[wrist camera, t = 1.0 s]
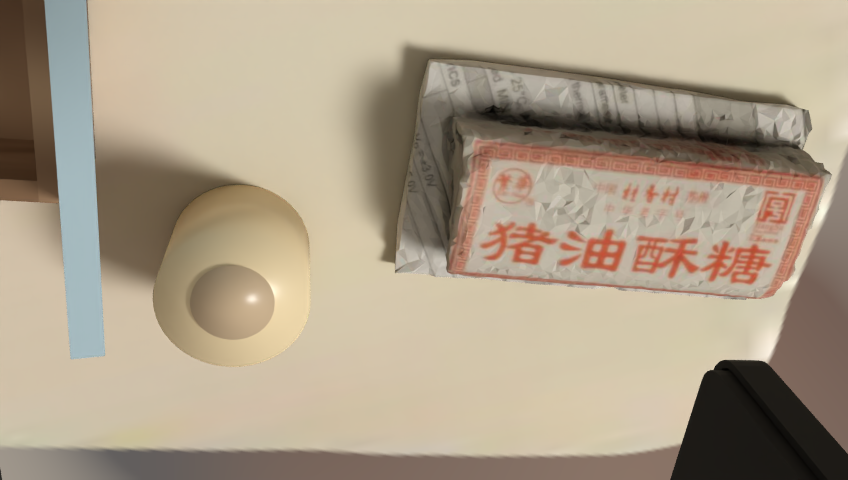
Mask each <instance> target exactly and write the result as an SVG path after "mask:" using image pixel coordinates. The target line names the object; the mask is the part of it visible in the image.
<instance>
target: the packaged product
mask: <svg viewBox="0 0 848 480" xmlns="http://www.w3.org/2000/svg"><path fill="white" fill-rule="evenodd" d="M811 130H812V125H811V120H810V115H809V110H805V109H801V108H797V107H793V106H790V105H785V104H772V103H759V102H744V101H739V100H734V99H729V98H724V97H719V96H713V95H708V94H703V93H698V92H693V91H687V90H682V89H673V88H666V87H660V86H653V85H647V84H641V83H634V82H628V81H622V80H616V79H610V78H603V77H596V76H589V75H582V74H575V73H565V72H559V71H552V70H545V69H537V68H529V67H521V66H513V65H505V64H497V63H489V62H480V61H472V60H453V59H429V60H428V64H427V67H426V70H425V74H424V78H423V82H422V85H421V89H420V93H419V101H418V109H417V118H416V126H415V135H414V141H413V145H412V150H411V155H410V160H409V165H408V170H407V175H406V180H405V186H404V191H403V196H402V201H401V206H400V212H399V217H398V223H397V239H396V257H395V273H413V274H426V275H431V276H435V277H451V278H478V279H490V280H502V281H508V282H521V283H531V284H543V285H558V286H568V287H578V288H591V289H595V288H605V287H614V288H616V289H618V290H624V291H637V292H650V293H672V294H678V295H689V296H700V297H715V298H724V299H740V300H746V298H753V299H761V298H767V297H770V296H773V295H774V294H775V293H776V291H777V290H778V289H779V288H780V287H781V286H782V284H783V282H785V281H787V280H788V279H789V278H790V277H791V276H792V275H793V273H794V271H795V260H796V259H797V257H798V255H799V254H800V251H801V248H802V244H803V241H804V239H805V236H806V234H807V231H808V230H809V229H810V228H812V224H813V221H814V218H815V216H816V214H817V212H818V210H819V204H820V201H821V199H822V196H823V193H824V190H825V188H826V186H827V185H828V183H829V181H830V179H831V173H830V172H828V171H827V170H825V169H824V165H823V163H817V162H814V160H813V159H812V157H811V156H810V155H809V154H808V153H806V152H805V151H803V147H804V145H805V142H806V139H807V137H808V134H809V132H810V131H811Z"/></svg>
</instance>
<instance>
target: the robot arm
mask: <svg viewBox="0 0 848 480" xmlns="http://www.w3.org/2000/svg"><path fill="white" fill-rule="evenodd" d="M0 480H2V477H1V471H0ZM670 480H848V454H847V453H846V452H845V450H844V449H843V448H842V447H841V446H840V445H839V444H838V442H837V441H836V440H835V439H834V438H833V437H832V436H831V435H830V433H829V432H828V431H827V430H826V429H825V428H824V427H823V426H822V425H821V423H820V422H819V421H818V420H817V419H816V418H815V416H813V414H812V413H811V412H810V411H809V410H808V409H807V407H806V406H805V405H804V404H803V403H802V402H801V401H800V399H799V398H798V397H797V396H796V395H795V394H794V393H793V392H792V390H791V389H790V388H789V387H788V386H787V385H786V384H785V383H784V381H783V380H782V379H781V378H780V377H779V376H778V375H777V374H776V373H775V371H774V370H773V369H772V368H771V367H770V366H769V365H768V364H767V363H765V362H763V361H755V360H723V361H720V362H719V363H718V364H717V365H716V366H715V368H714V370H710V371H707V372H706V373H705V375H704V377H703V379H702V382H701V385H700V388H699V391H698V394H697V397H696V400H695V404H694V407H693V410H692V413H691V416H690V419H689V422H688V426H687V429H686V432H685V435H684V438H683V441H682V444H681V448H680V451H679V454H678V457H677V460H676V463H675V467H674V470H673V473H672V476H671V479H670Z"/></svg>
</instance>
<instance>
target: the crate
mask: <svg viewBox="0 0 848 480" xmlns="http://www.w3.org/2000/svg"><path fill="white" fill-rule="evenodd" d="M86 4H87V0H86ZM87 23H88V6H87ZM88 42H89V25H88ZM89 61H90V45H89ZM90 80H91V64H90ZM91 99H92V83H91ZM92 118H93V102H92ZM93 137H94V121H93ZM94 155H95V140H94ZM0 200H8V201H26V202H45V203H59V193H58V179H57V165H56V152H55V138H54V125H53V111H52V97H51V84H50V70H49V56H48V43H47V29H46V16H45V2H44V0H0Z"/></svg>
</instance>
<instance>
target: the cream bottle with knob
mask: <svg viewBox="0 0 848 480" xmlns="http://www.w3.org/2000/svg"><path fill="white" fill-rule="evenodd" d="M153 306H154V311H155V315H156V318H157V320H158V323H159V325H160V327H161V328H162V330H163V332H164V333H165V335H166V336H167V337H168V338H169V340H170V341H171V342H172V343H173V344H174V345H176V346H177V347H178V348H179V349H180V350H182V351H183V352H184V353H186V354H188V355H190V356H191V357H193V358H195V359H198V360H200V361H203V362H206V363H209V364H213V365H218V366H227V367H241V366H248V365H253V364H257V363H261V362H264V361H266V360H269V359H271V358H273V357H275V356H277V355H278V354H280V353H281V352H283V351H284V350H286V349H287V348H288V347H289V346H290V345H291V344H292V343H293V342H294V341H295V340H296V339H297V338H298V336H299V335H300V333H301V332H302V330H303V328H304V326H305V324H306V322H307V319H308V316H309V312H310V256H309V238H308V233H307V230H306V227H305V225H304V223H303V221H302V219H301V217H300V216H299V214H298V213H297V212H296V210H295V209H294V208H293V207H292V206H291V205H290V204H289V203H288V202H287V201H285V200H284V199H283V198H281V197H280V196H278V195H276V194H274V193H272V192H270V191H268V190H265V189H263V188H259V187H255V186H249V185H228V186H222V187H218V188H215V189H212V190H210V191H207V192H205V193H204V194H202V195H200V196H198V197H197V198H196V199H194V200H193V201H192V202H191V203H190V204H189V205H188V206H187V207H186V208H185V209H184V210H183V212H182V213H181V215H180V216H179V218H178V220H177V222H176V225H175V227H174V230H173V233H172V236H171V238H170V241H169V244H168V247H167V250H166V253H165V255H164V258H163V261H162V264H161V267H160V269H159V272H158V275H157V278H156V281H155V285H154V290H153Z"/></svg>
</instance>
